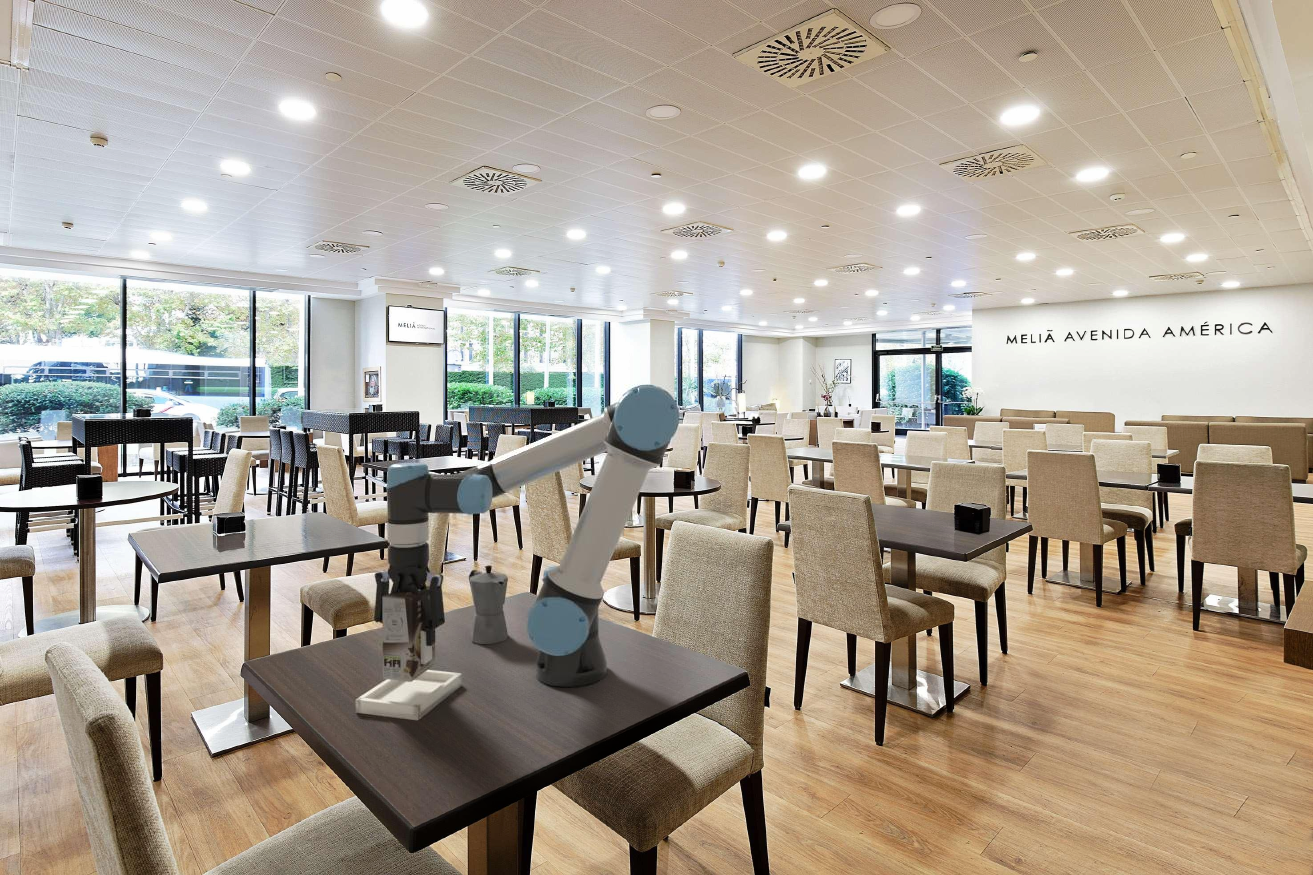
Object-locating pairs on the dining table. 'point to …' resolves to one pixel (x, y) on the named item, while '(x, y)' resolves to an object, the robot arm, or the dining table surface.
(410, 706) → the tray
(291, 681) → the dining table surface
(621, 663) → the dining table surface
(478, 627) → the coffeepot
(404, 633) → the coffee box
